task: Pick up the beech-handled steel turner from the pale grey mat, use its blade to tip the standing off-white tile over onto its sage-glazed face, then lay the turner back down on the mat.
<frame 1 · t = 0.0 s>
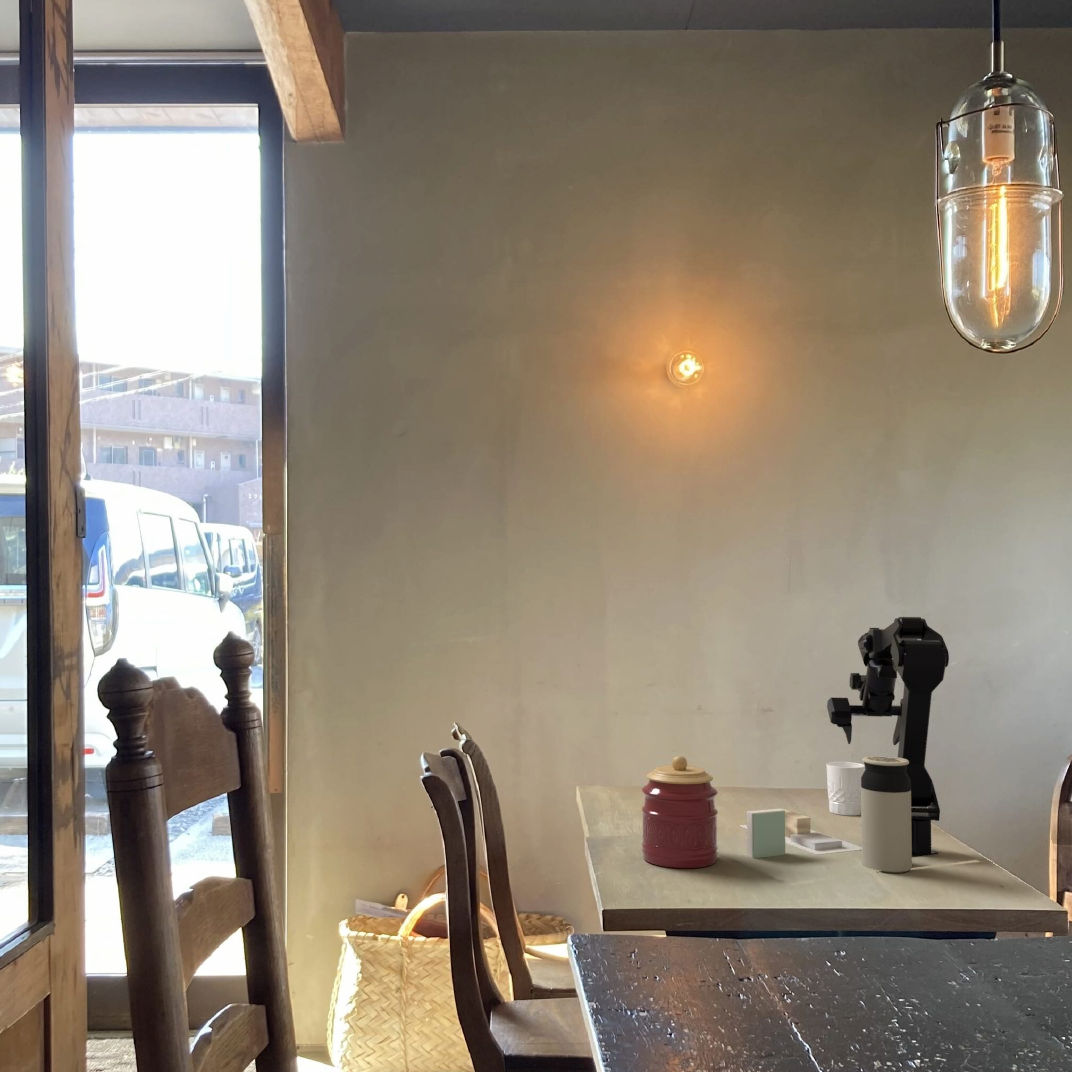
hand: (871, 743, 215), 15 cm above the table, tool tilted 35°, fingers open, 9 cm apart
travel mug: (886, 868, 173), on the table
canister: (679, 860, 177), on the table
turner: (802, 839, 191), resting on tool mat
white cup: (845, 813, 217), on the table
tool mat: (799, 838, 193), on the table
tile: (766, 857, 179), on the table
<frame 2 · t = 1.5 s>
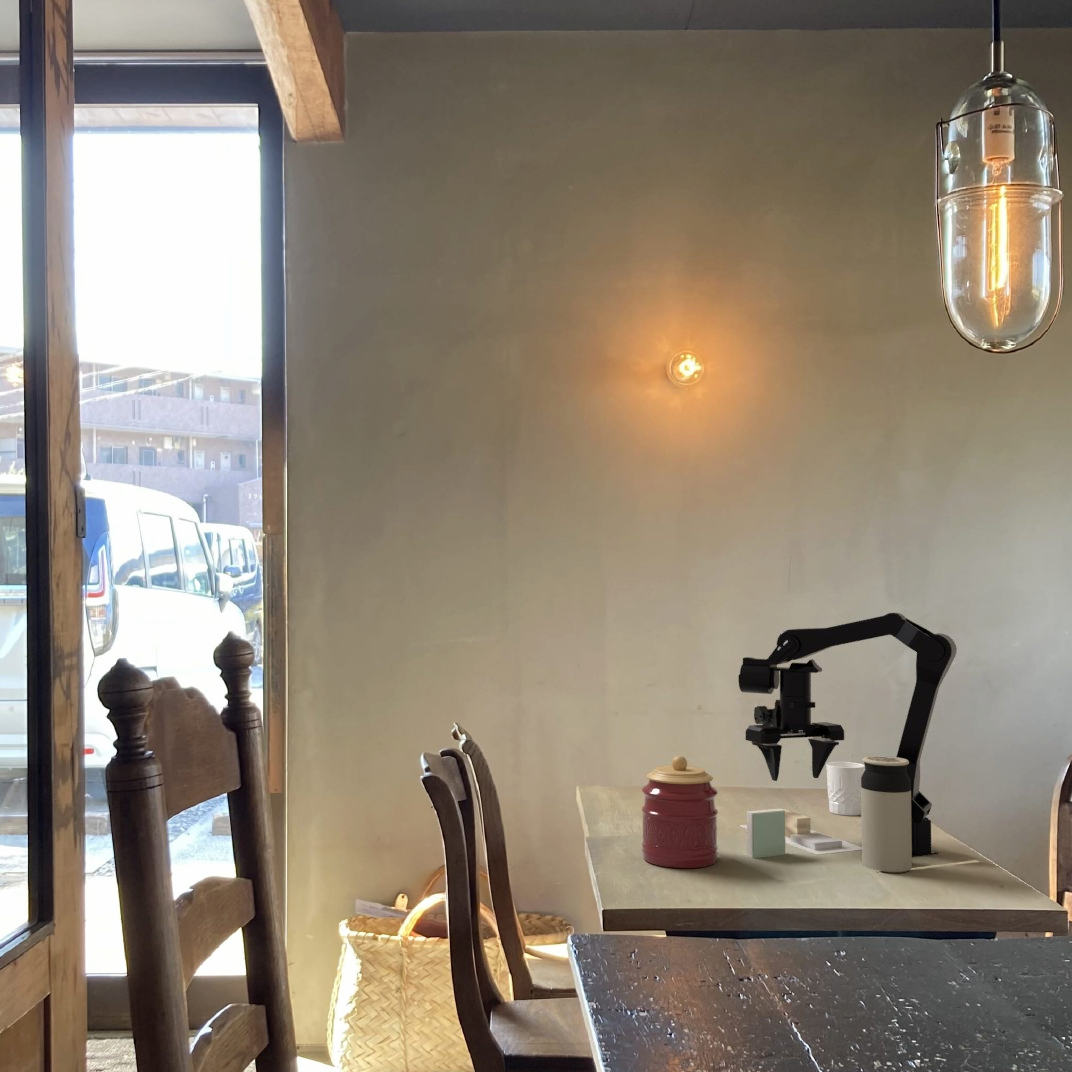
hand: (795, 779, 193), 11 cm above the table, tool pointing down, fingers open, 9 cm apart
nothing on the table moved.
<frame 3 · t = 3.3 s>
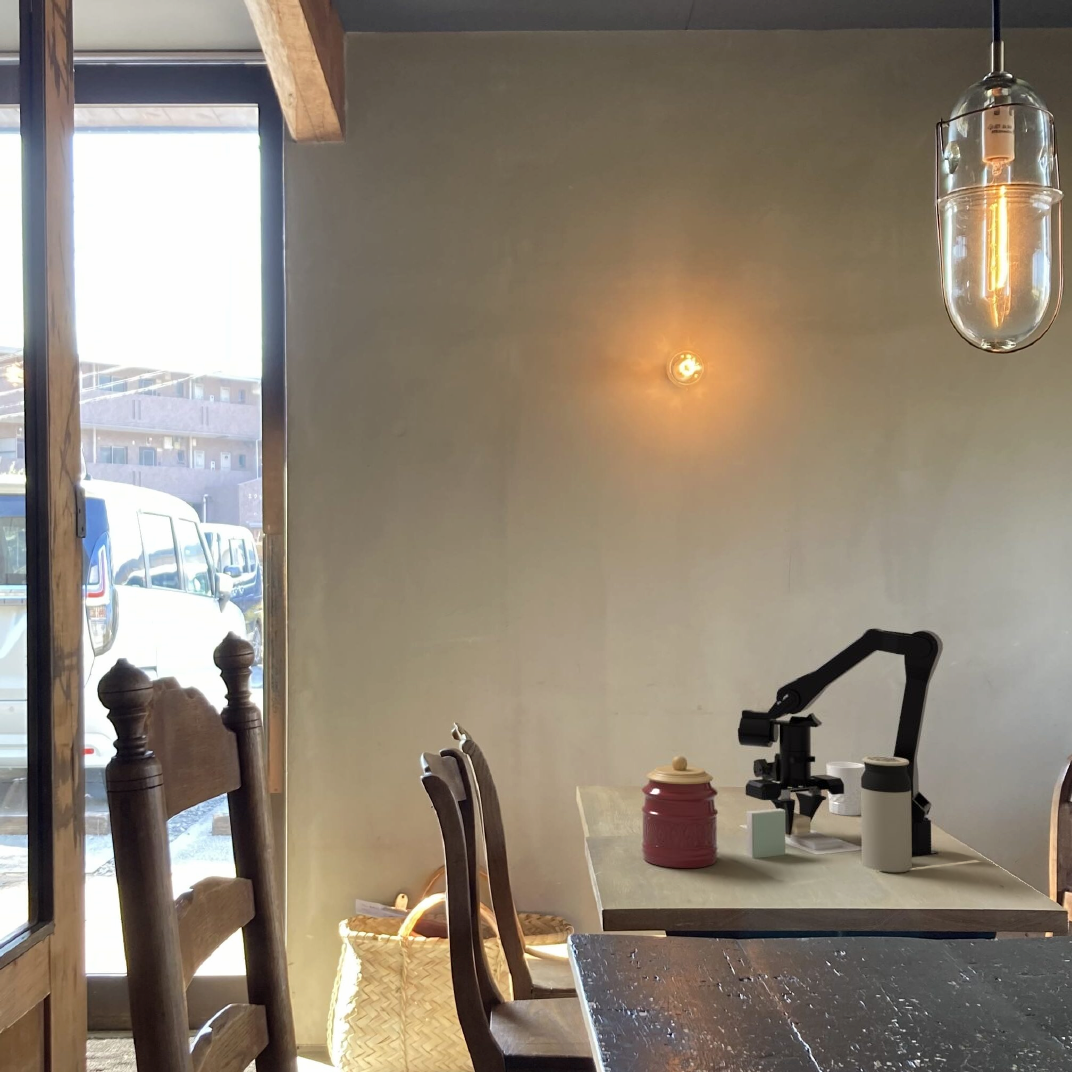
hand: (795, 833, 192), 1 cm above the table, tool pointing down, fingers closed on turner, 3 cm apart
turner: (802, 839, 191), resting on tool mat, touching gripper
everything else where it was.
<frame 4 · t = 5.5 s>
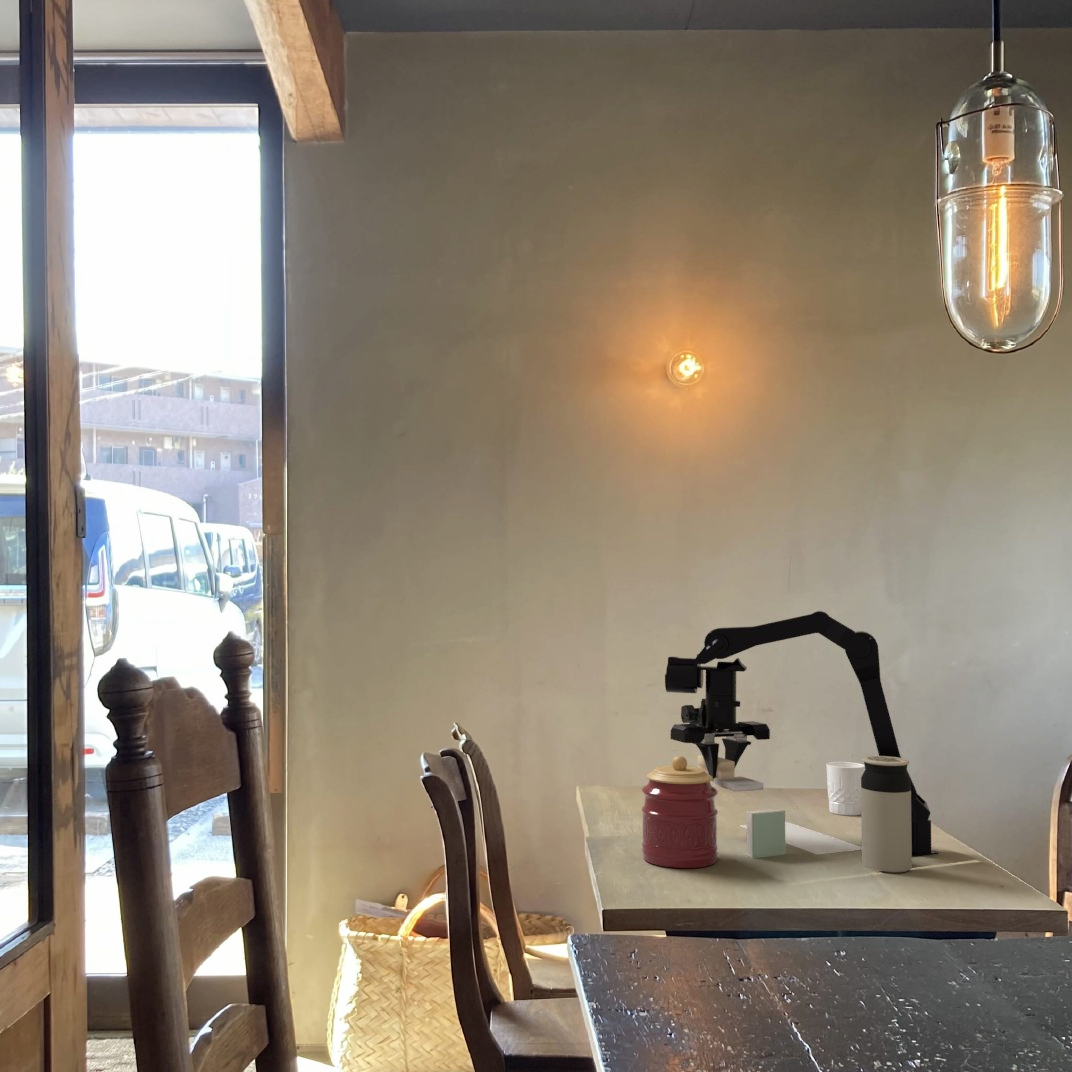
hand: (720, 778, 193), 11 cm above the table, tool pointing down, fingers closed on turner, 3 cm apart
turner: (726, 783, 191), point 11 cm above the table, touching gripper
everything else where it was.
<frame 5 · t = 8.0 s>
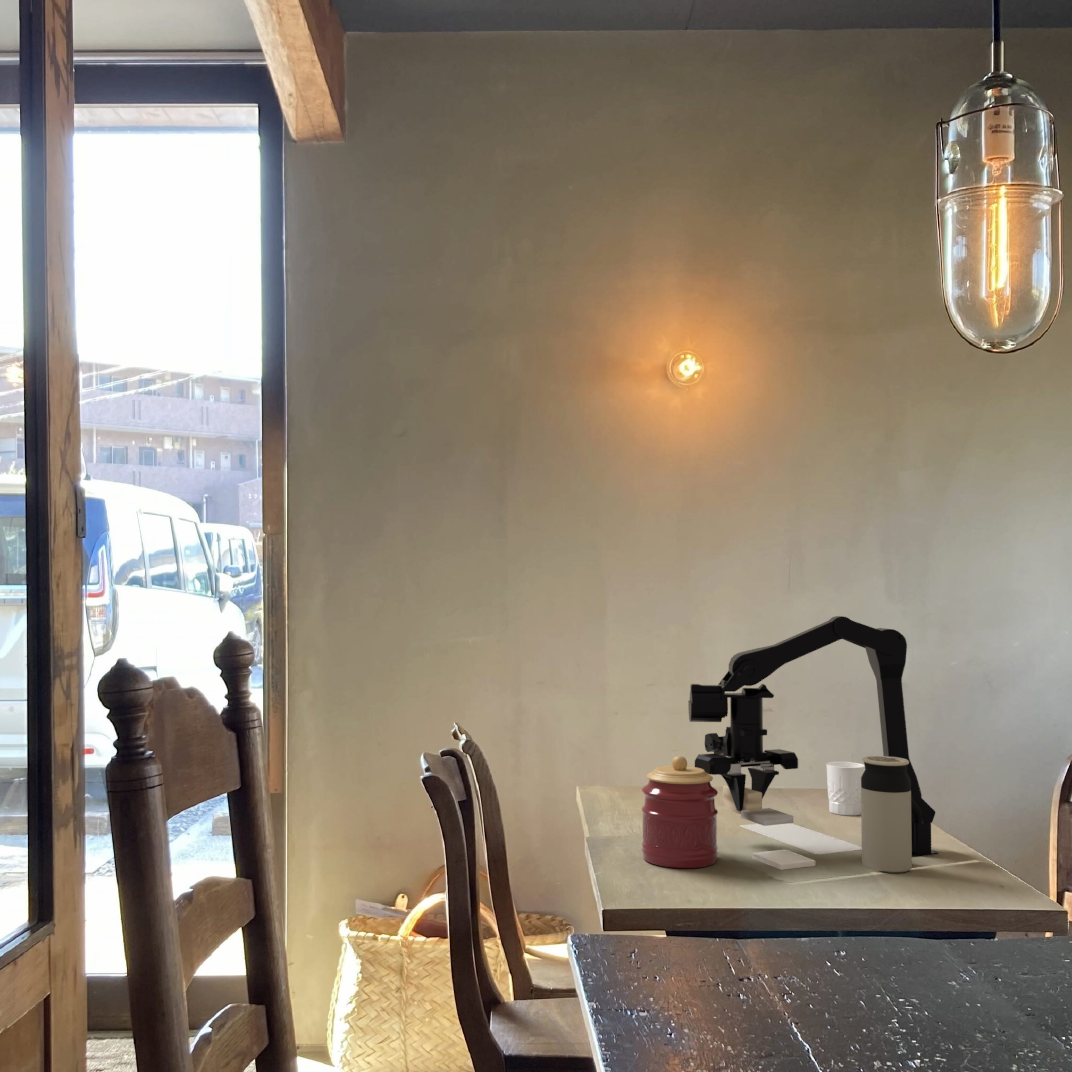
hand: (747, 810, 185), 7 cm above the table, tool pointing down, fingers closed on turner, 3 cm apart
turner: (753, 815, 183), point 6 cm above the table, touching gripper
tile: (769, 855, 178), on the table, tilted 91°
everything else where it was.
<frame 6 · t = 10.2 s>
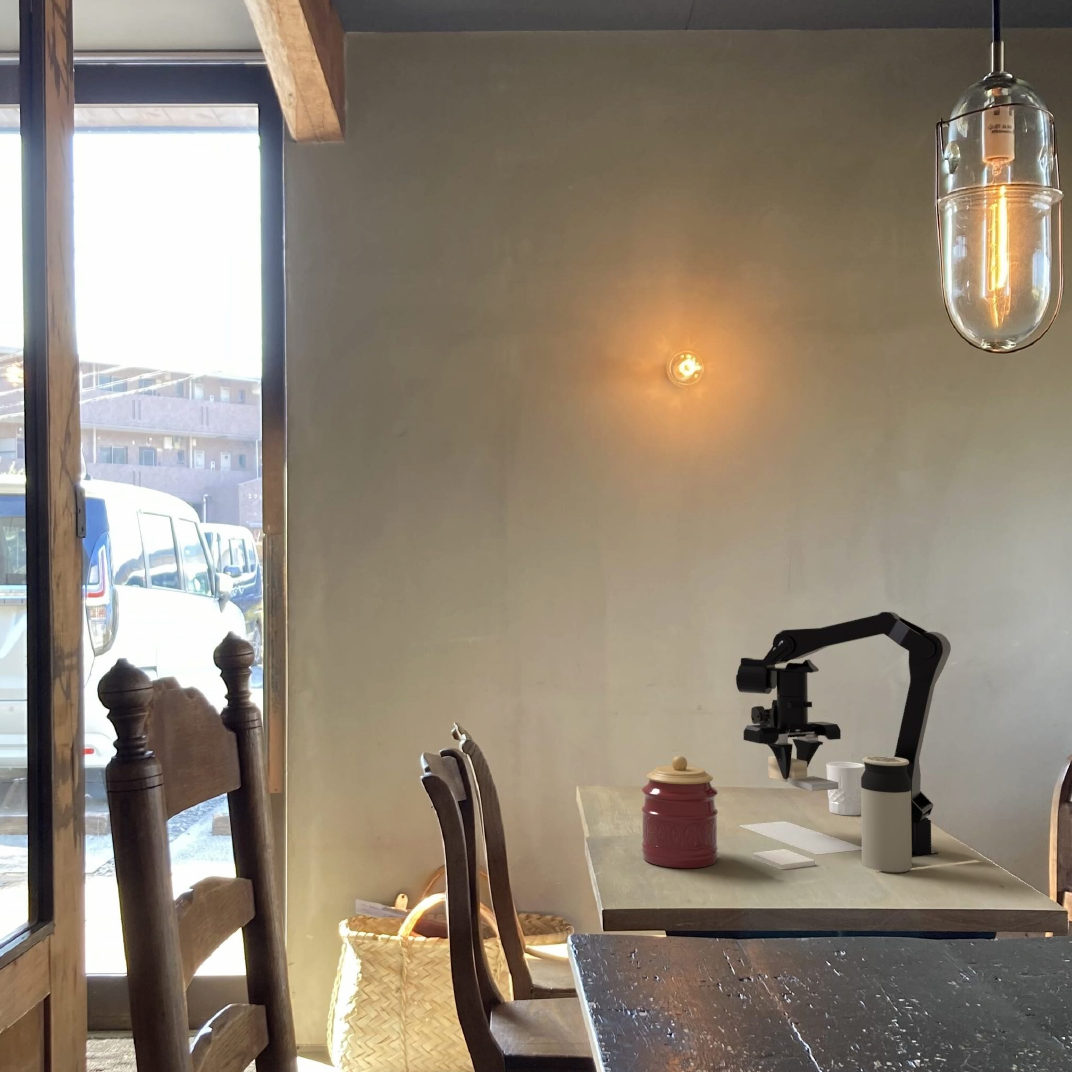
hand: (792, 778, 195), 11 cm above the table, tool pointing down, fingers closed on turner, 3 cm apart
turner: (799, 783, 193), point 10 cm above the table, touching gripper
everything else where it was.
when the fingers open (2 cm above the table, at t = 12.0 s): turner drops 1 cm, resting on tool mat.
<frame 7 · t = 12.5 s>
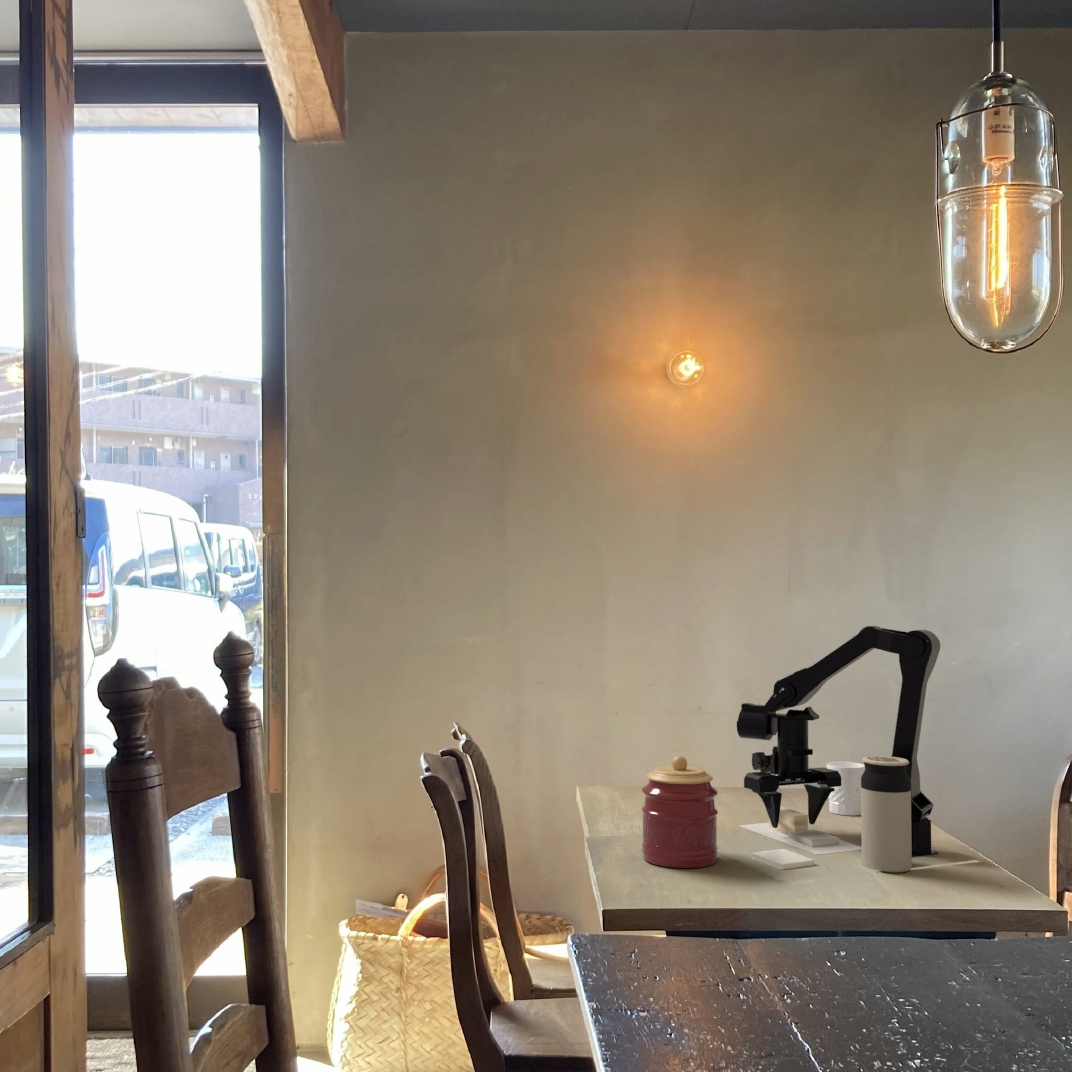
hand: (793, 825, 195), 2 cm above the table, tool pointing down, fingers open, 8 cm apart
turner: (799, 836, 193), resting on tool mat
everything else where it was.
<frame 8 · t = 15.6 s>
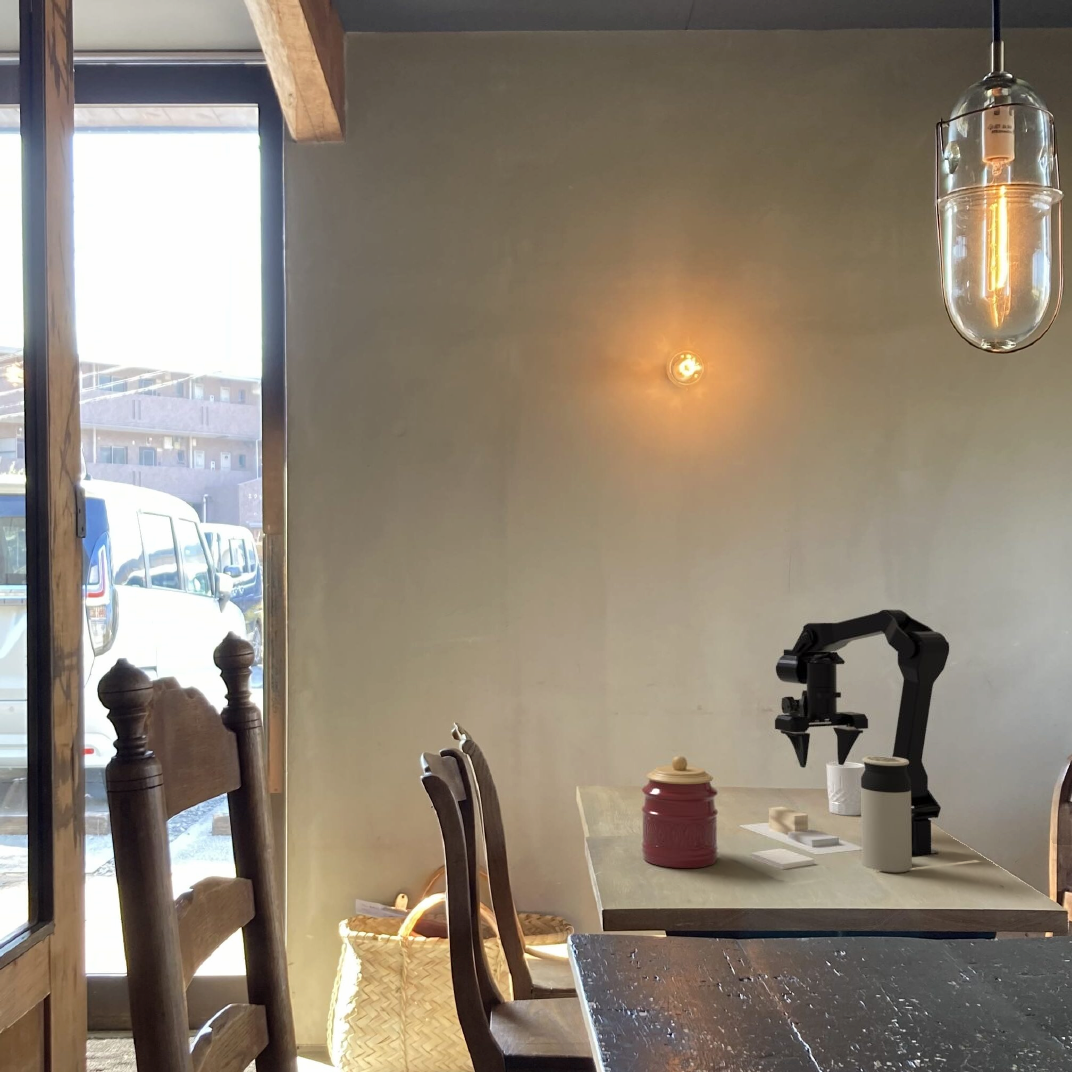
hand: (822, 766, 203), 12 cm above the table, tool pointing down, fingers open, 9 cm apart
nothing on the table moved.
at the end: tile tilted 91°; turner inside the target area (0.1 cm from its centre), resting on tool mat; the gripper is holding nothing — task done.
